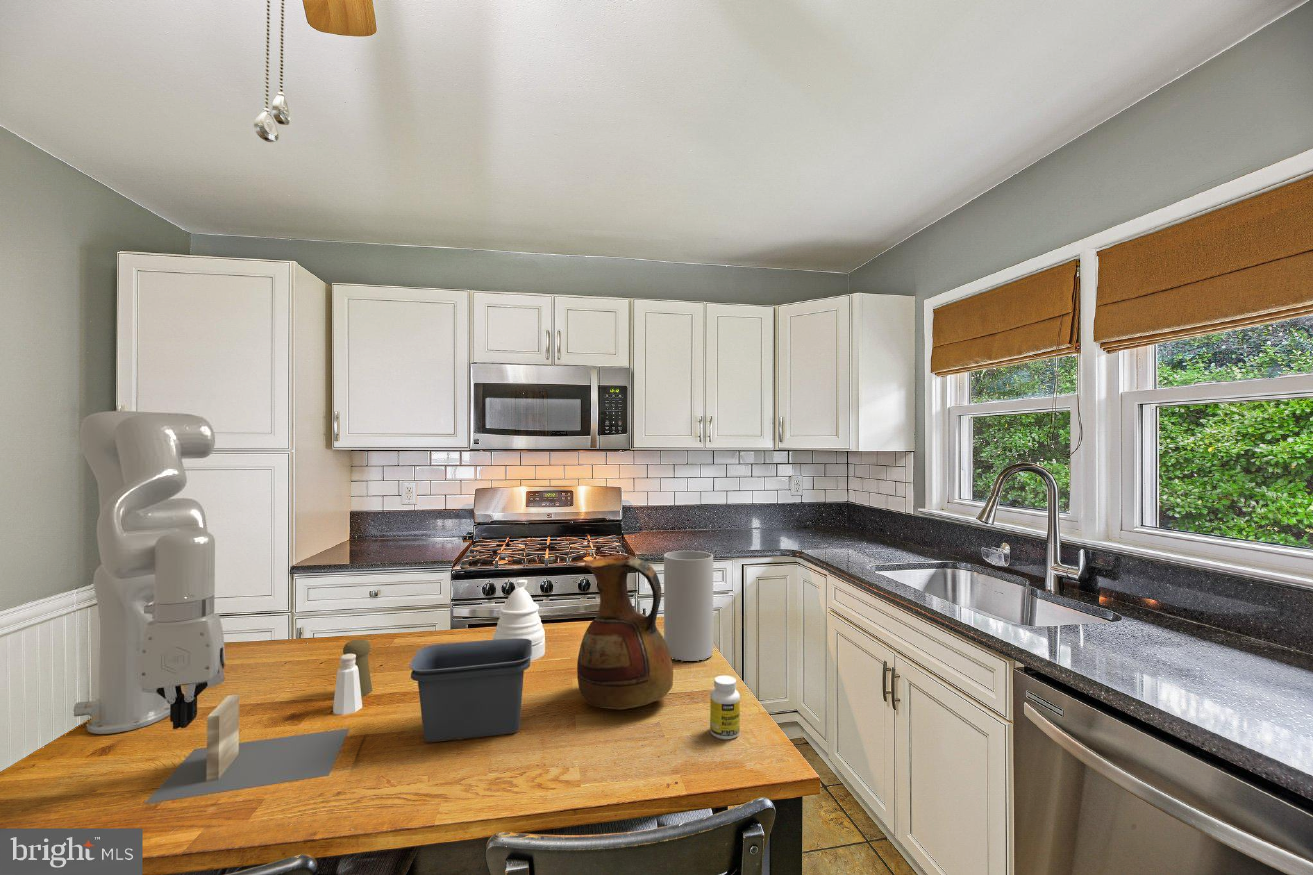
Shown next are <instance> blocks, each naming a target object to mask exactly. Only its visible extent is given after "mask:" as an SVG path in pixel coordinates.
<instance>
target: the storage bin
mask: <svg viewBox="0 0 1313 875" xmlns="http://www.w3.org/2000/svg"><path fill="white" fill-rule="evenodd" d="M531 655H532V641H531V640H529V639H524V638H511V639H497V640H493V639H486V640H485V639H484V640H472V641H462V642H459V641H458V642H449V643H448V642H447V643H437V644H431V645H426V646H424V647H422V648H420V649H418V650H417V652H416V653H415V655H414V657H413V658H412V660H411V661H410V663H409V665H408V667H409V669H410V670H412V671H411V673H410V678H411V680H413V681H415V682H417V687H418V694H419V695H418V696H419V704H420V706H419V707H420V713H421V721H422V725H421V726H422V733H423V739H424V741H425V743H438V742H447V741H455V740H456V741H457V740H464V739H472V738H483V737H490V736H491V737H492V736H500V735H507V734H509V735H510V734H514V733H517V732H518V731H519V730H520V728H521V713H522V702H523V701H522V699H523V689H524V688H523V687H524V674H525V671H526V670H528V669H529V668H530V666H531V661H530V659H531Z"/></svg>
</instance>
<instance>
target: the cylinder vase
mask: <svg viewBox="0 0 1313 875" xmlns="http://www.w3.org/2000/svg"><path fill="white" fill-rule="evenodd" d="M663 638H664V640H665V642H666V644H667V647H668V649H669V652H670V656H671V658H673V659H672V660H674V659H675V660H674V661H677V660H681V661H680V662H683V661H697V662H700V661H699V660H702V661H705V660H708V659H710V658H711V656H712V655H713V653H714V554H712V553H710V552H707V551H700V550H697V551H696V550H677V551H676V550H675V551H674V550H673V551H669V552H666V553H664V554H663ZM707 658H708V659H707Z"/></svg>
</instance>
